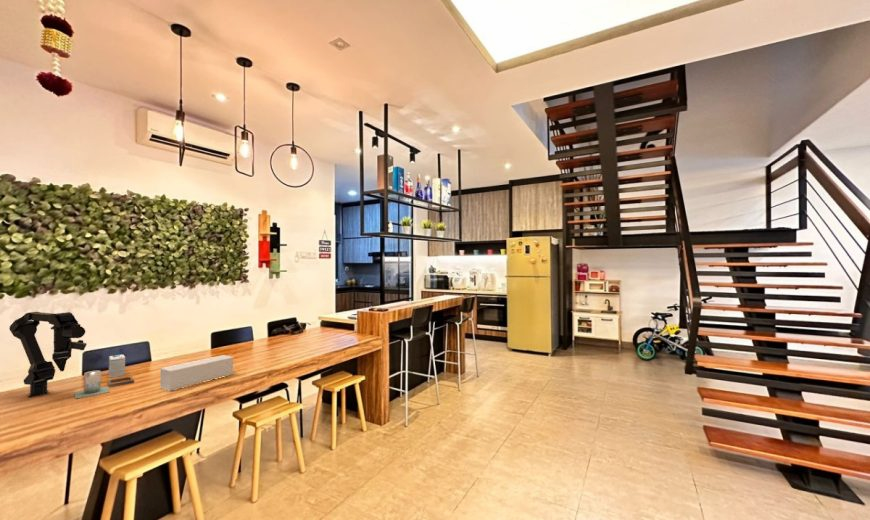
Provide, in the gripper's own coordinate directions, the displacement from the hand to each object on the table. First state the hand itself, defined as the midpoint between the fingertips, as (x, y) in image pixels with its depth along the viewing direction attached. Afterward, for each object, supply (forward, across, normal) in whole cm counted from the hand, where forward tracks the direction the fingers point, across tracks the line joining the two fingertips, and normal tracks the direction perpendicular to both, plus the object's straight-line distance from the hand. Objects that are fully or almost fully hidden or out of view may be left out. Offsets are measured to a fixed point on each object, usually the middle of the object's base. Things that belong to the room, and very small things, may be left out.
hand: (62, 369), depth 171 cm
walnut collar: (+14, +5, -22) cm, 26 cm away
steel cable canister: (+13, -4, -10) cm, 17 cm away
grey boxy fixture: (+13, +27, -21) cm, 37 cm away
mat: (+13, -4, -10) cm, 17 cm away
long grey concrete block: (+15, -22, -52) cm, 59 cm away
